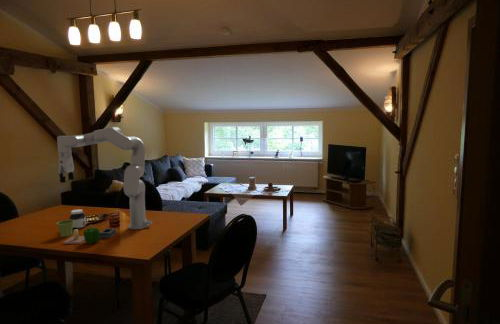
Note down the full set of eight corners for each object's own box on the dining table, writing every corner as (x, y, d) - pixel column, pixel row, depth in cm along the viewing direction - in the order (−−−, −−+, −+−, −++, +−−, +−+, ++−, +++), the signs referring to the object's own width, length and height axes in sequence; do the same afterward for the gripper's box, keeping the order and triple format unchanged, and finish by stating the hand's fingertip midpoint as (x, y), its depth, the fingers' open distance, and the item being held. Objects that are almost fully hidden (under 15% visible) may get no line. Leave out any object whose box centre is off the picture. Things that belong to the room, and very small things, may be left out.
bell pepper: (98, 244, 186) (97, 227, 185) (82, 245, 184) (81, 228, 183) (101, 239, 194) (100, 222, 193) (86, 240, 192) (85, 224, 191)
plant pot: (62, 239, 195) (61, 225, 194) (54, 236, 200) (53, 222, 199) (78, 234, 203) (77, 221, 202) (69, 232, 208) (68, 218, 206)
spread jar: (77, 230, 210) (76, 213, 209) (62, 229, 212) (61, 212, 211) (90, 224, 222) (89, 208, 220) (75, 224, 224) (74, 207, 223)
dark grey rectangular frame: (115, 233, 204) (115, 228, 204) (110, 238, 196) (109, 232, 196) (105, 233, 204) (105, 228, 204) (99, 238, 196) (99, 233, 196)
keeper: (89, 237, 197) (88, 227, 196) (80, 243, 187) (79, 232, 186) (72, 237, 197) (71, 227, 196) (63, 243, 187) (62, 232, 186)
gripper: (63, 156, 202) (65, 183, 205) (77, 153, 220) (79, 178, 222) (51, 156, 202) (53, 183, 205) (66, 153, 220) (68, 178, 222)
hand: (67, 181), depth 213 cm, fingers open, 9 cm apart
